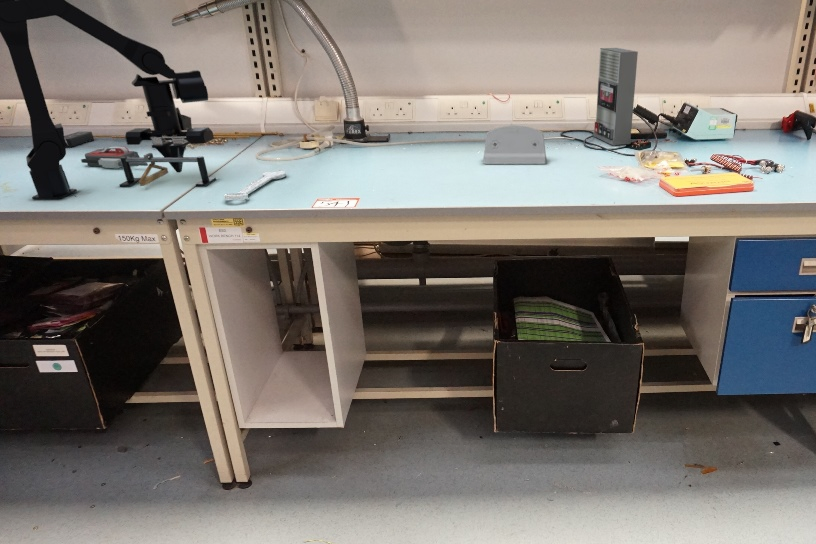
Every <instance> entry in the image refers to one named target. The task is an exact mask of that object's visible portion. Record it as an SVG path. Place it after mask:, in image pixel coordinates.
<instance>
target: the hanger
mask: <svg viewBox="0 0 816 544" xmlns="http://www.w3.org/2000/svg"><path fill="white" fill-rule="evenodd" d="M143 157H144V159H145V160H149V158H148V157H154V154H153V153H152V152H148V153H146V154H143ZM152 169H157V170H158V171H155V172H154V173H152V174H150V175H149V173H150V172H151V170H152ZM168 174H169V169H168V167H166V166H162V165H158V164H156V162H150V163H149V164H148V166H146V169H145V170H144V172H143V173H142V175H141V176H140V177H139V178H140V180H139V182H138V183H139V186H140V187H145V186H146V185H148V184H151V183H153V182H154V181H156V180H158V179H160V178H162V177H164V176H165V175H168Z"/></svg>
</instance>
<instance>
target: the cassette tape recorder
mask: <svg viewBox="0 0 816 544" xmlns="http://www.w3.org/2000/svg"><path fill="white" fill-rule="evenodd" d="M638 54H639V51H637V50H631V49H626V48H620V47H604V48H603V47H601V48H599V60H598V61H599V62H598V64H599V65H598V66H599V67H598V79H597V80H598V81H597V82H598V83H597V98H596V115H595V121H594V128H593V129H594V130H593V132H592V133H593V135H592V136H593V137H594V138H597V139H599V140H601V141H603V142H604V143H606V144H609V145H611V146H614V147H615V146H620V145H628V146H629V145H631V144H632V127H633V114H634V103H635V90H636V89H635V88H636V77H637V64H638Z"/></svg>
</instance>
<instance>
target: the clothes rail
mask: <svg viewBox="0 0 816 544" xmlns="http://www.w3.org/2000/svg"><path fill="white" fill-rule="evenodd" d="M148 158H149V160H145V159H144V156H143V157H140V156H139V157H135V158H128V157H121V158H120V160H121V163H122V166H123V167H122V169H123V173H124V176H125V180H126V181H124V182H122V183H119V187H120V188H130V187H132V186H135V185H137V184H138V183H139V180H140V178H141V177H134V174H133V170H132V166H130V163H129V162H146V163H151V162H155V163H169V162H183V163H197V166H198V170H199V174H200V178H201V180H200V181H198V182H197V183H195V185H194V186H195V187H196V188H197V187H200V188H201V187H202V188H203V187H208V186H209V185H211V184H212V183H214V182H216V181H217V177H209V173H208V169H207V165H206V160H205V157H204V156H201V155H200V156H183V157H164V156H162V157H161V156H159V157H157V156H156V157H154V156H153V157H148Z"/></svg>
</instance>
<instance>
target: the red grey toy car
mask: <svg viewBox="0 0 816 544" xmlns="http://www.w3.org/2000/svg"><path fill="white" fill-rule="evenodd" d="M84 157H85V158H81V159H80V161H81V163H82V164H87V166H88V167H103V168H106V169H119V168H123V166H122V163H121V160H120V158H121V157H128V158H135V157H140V154H139V153H138V151H135V150H129V148H128V147H127V146H117V145H116V146H115V145H113V146H110V147H107V148H106V147H100V148H96V149H95V150H92V151H89V152H86V153H84ZM129 163H130V167H142V166H144V167H148V166H149V164H148V162H129Z"/></svg>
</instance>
